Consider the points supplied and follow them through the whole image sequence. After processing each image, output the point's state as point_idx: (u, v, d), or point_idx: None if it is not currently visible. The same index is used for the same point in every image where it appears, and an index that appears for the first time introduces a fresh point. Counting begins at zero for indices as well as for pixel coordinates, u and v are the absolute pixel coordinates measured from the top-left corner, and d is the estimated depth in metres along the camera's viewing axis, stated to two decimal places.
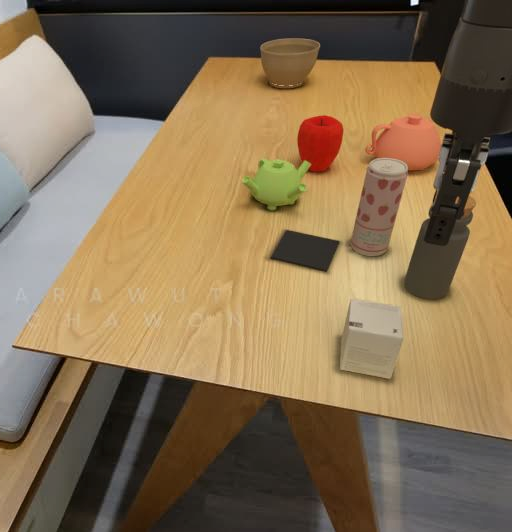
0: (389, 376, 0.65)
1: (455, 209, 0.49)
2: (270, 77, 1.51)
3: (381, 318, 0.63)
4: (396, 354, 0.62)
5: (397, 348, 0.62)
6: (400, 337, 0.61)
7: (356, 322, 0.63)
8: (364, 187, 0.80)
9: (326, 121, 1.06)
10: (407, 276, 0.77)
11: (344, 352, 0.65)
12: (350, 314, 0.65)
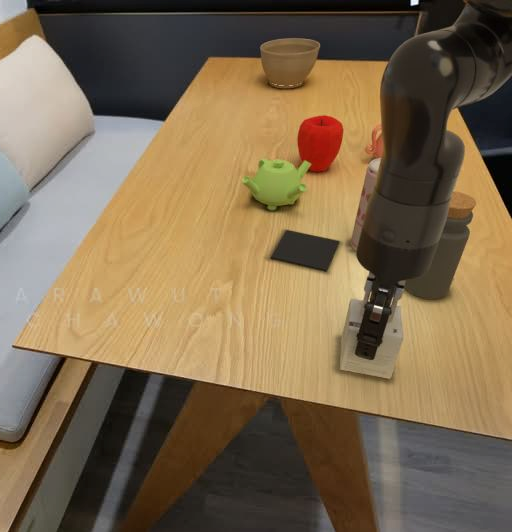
0: (389, 376, 0.65)
1: (375, 338, 0.58)
2: (270, 77, 1.51)
3: None
4: (396, 354, 0.62)
5: (397, 348, 0.62)
6: (400, 337, 0.61)
7: (356, 322, 0.63)
8: (364, 187, 0.80)
9: (326, 121, 1.06)
10: None
11: (344, 352, 0.65)
12: (350, 314, 0.65)
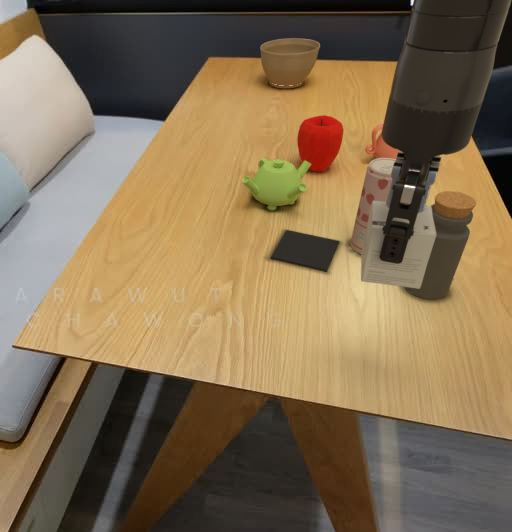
0: (418, 285, 0.56)
1: (405, 229, 0.50)
2: (270, 77, 1.51)
3: None
4: (427, 256, 0.54)
5: (429, 248, 0.54)
6: (432, 233, 0.53)
7: (380, 221, 0.55)
8: (364, 187, 0.80)
9: (326, 121, 1.06)
10: None
11: (366, 259, 0.57)
12: (373, 214, 0.56)
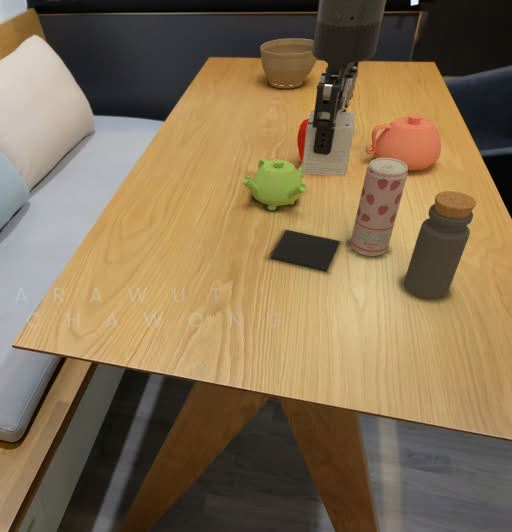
0: (344, 173, 0.73)
1: (328, 121, 0.66)
2: (270, 77, 1.51)
3: None
4: (348, 147, 0.70)
5: (349, 140, 0.70)
6: (351, 128, 0.69)
7: None
8: (364, 187, 0.80)
9: None
10: (407, 276, 0.77)
11: (304, 153, 0.73)
12: (309, 118, 0.73)
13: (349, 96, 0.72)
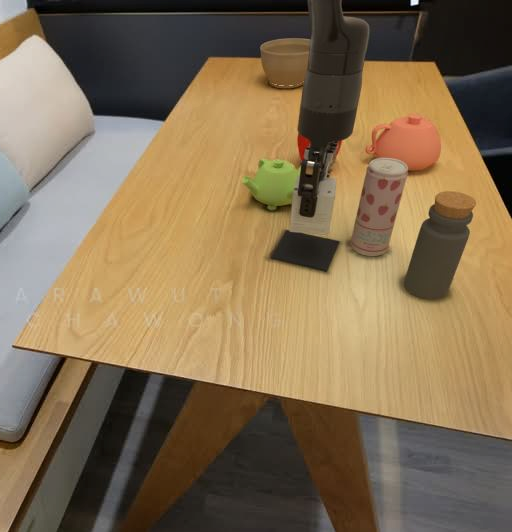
0: (327, 233, 0.81)
1: (311, 191, 0.75)
2: (270, 77, 1.51)
3: None
4: (330, 211, 0.79)
5: (331, 205, 0.78)
6: (332, 195, 0.77)
7: None
8: (364, 187, 0.80)
9: None
10: (407, 276, 0.77)
11: (291, 215, 0.82)
12: (296, 184, 0.81)
13: (331, 165, 0.80)
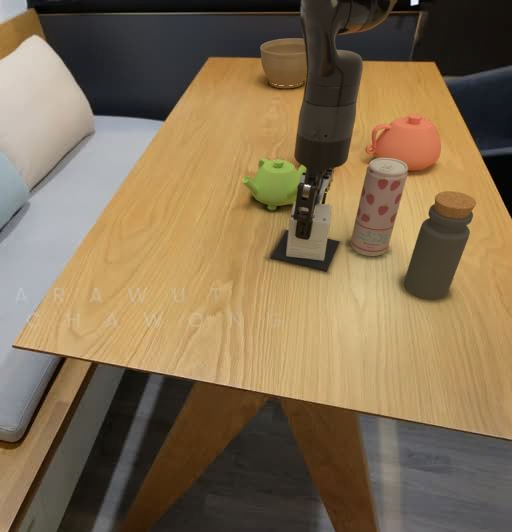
0: (322, 258, 0.84)
1: (306, 216, 0.77)
2: (270, 77, 1.51)
3: (315, 212, 0.83)
4: (326, 238, 0.82)
5: (326, 233, 0.81)
6: (327, 223, 0.80)
7: None
8: (364, 187, 0.80)
9: None
10: (407, 276, 0.77)
11: (288, 240, 0.85)
12: (292, 210, 0.84)
13: (328, 186, 0.83)
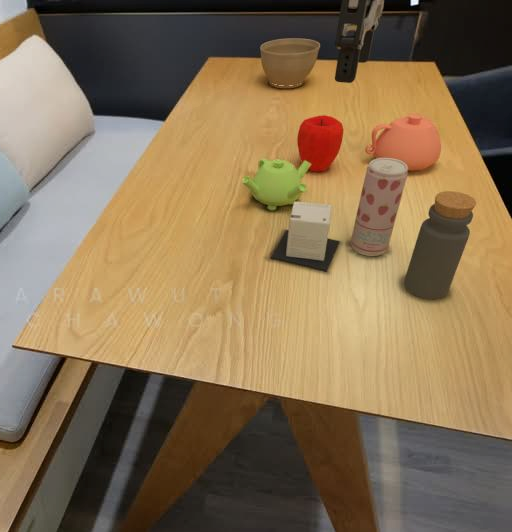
0: (322, 258, 0.84)
1: (353, 37, 0.57)
2: (270, 77, 1.51)
3: (315, 212, 0.83)
4: (326, 238, 0.82)
5: (326, 233, 0.81)
6: (327, 223, 0.80)
7: (296, 215, 0.83)
8: (364, 187, 0.80)
9: (326, 121, 1.06)
10: (407, 276, 0.77)
11: (288, 240, 0.85)
12: (292, 210, 0.84)
13: (377, 15, 0.63)
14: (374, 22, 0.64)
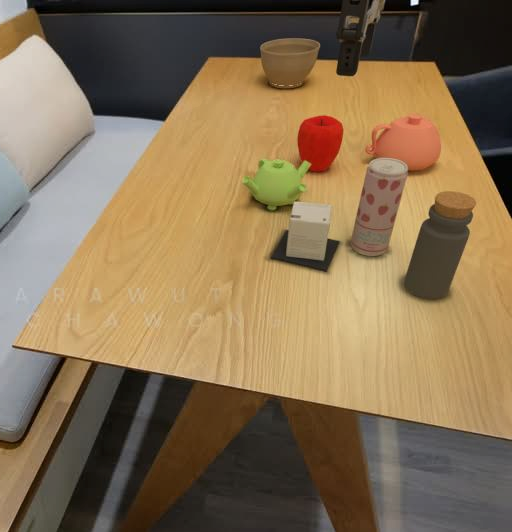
0: (322, 258, 0.84)
1: (355, 30, 0.56)
2: (270, 77, 1.51)
3: (315, 212, 0.83)
4: (326, 238, 0.82)
5: (326, 233, 0.81)
6: (327, 223, 0.80)
7: (296, 215, 0.83)
8: (364, 187, 0.80)
9: (326, 121, 1.06)
10: (407, 276, 0.77)
11: (288, 240, 0.85)
12: (292, 210, 0.84)
13: (379, 8, 0.62)
14: (376, 15, 0.63)
